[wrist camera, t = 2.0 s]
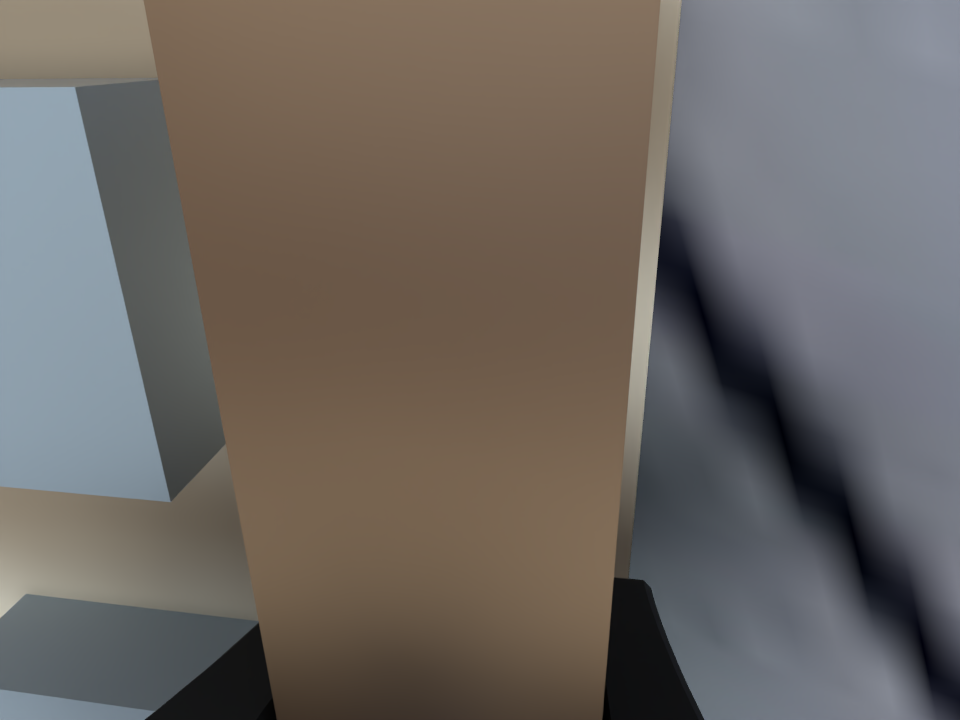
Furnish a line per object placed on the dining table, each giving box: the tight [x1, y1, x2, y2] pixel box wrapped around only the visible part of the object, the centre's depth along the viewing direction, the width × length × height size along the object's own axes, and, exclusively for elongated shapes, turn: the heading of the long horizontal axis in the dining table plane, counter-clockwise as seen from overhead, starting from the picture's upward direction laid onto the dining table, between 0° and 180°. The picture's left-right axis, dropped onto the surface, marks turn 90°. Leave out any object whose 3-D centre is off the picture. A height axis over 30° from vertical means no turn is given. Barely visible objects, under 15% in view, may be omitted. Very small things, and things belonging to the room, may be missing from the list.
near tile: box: [0, 78, 226, 502], centre depth 9 cm, size 5×5×2 cm
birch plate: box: [0, 0, 682, 621], centre depth 13 cm, size 20×13×3 cm, turn 1°
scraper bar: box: [143, 0, 661, 720], centre depth 9 cm, size 16×3×4 cm, turn 1°
